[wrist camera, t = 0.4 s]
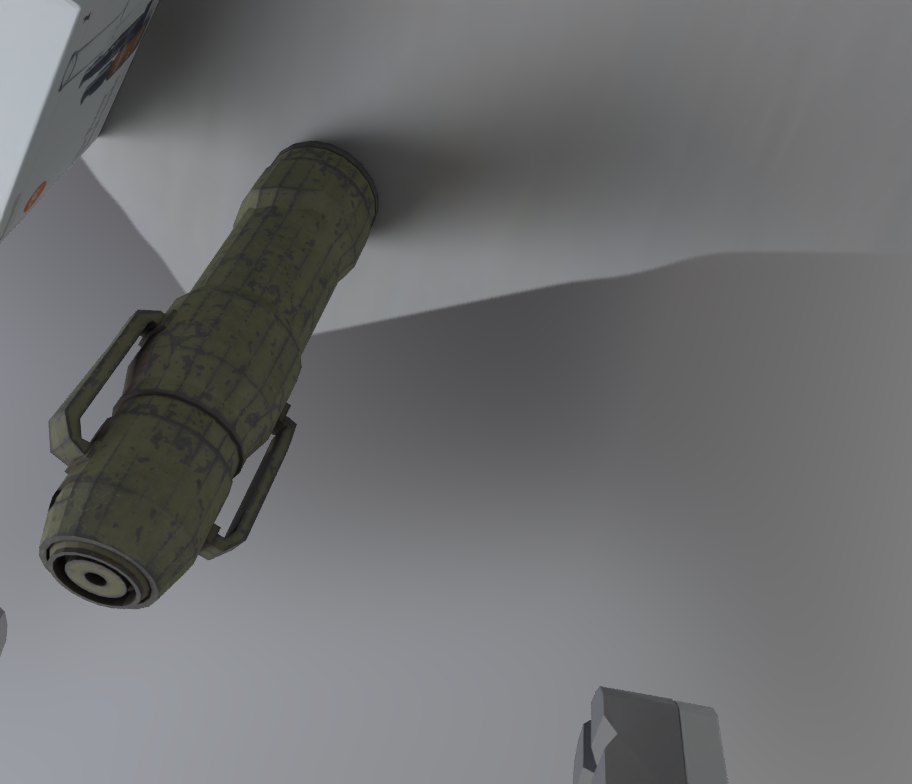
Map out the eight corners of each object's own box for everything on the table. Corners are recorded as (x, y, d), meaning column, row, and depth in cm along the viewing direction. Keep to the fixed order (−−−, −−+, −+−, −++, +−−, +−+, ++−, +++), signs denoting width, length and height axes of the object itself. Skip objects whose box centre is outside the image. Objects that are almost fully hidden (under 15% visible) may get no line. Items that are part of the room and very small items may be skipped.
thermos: (286, 101, 61) (3, 478, 37) (417, 206, 65) (239, 611, 41) (230, 179, 67) (-47, 550, 43) (353, 272, 71) (164, 661, 47)
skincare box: (105, 143, 67) (-16, 264, 56) (38, 98, 66) (-98, 214, 55) (211, -91, 54) (79, 9, 42) (131, -155, 52) (-28, -68, 41)
